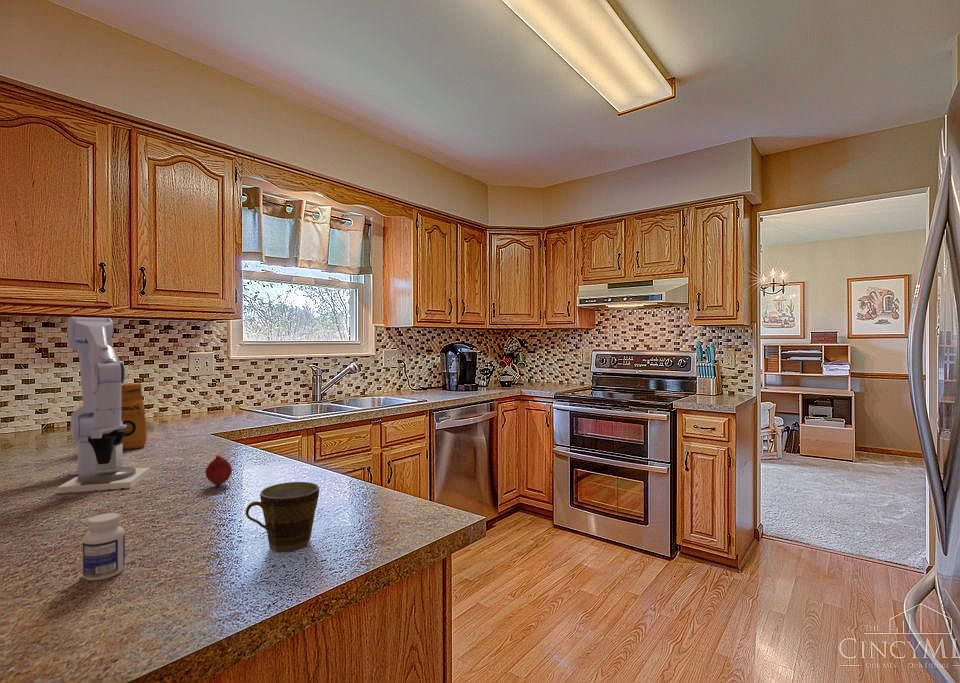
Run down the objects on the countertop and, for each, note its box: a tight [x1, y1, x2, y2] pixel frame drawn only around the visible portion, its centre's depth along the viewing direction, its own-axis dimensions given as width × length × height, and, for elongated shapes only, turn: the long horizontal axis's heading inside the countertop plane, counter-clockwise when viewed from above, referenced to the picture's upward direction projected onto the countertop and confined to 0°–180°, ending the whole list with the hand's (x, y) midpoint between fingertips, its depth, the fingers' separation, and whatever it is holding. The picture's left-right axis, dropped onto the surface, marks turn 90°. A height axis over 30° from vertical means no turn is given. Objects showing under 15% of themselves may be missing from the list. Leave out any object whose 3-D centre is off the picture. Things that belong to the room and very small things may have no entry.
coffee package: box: [119, 383, 148, 450], centre depth 168 cm, size 10×12×22 cm
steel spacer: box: [95, 443, 124, 471], centre depth 128 cm, size 4×4×6 cm
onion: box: [205, 453, 233, 487], centre depth 125 cm, size 6×6×8 cm
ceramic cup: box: [245, 481, 320, 553], centre depth 87 cm, size 13×10×10 cm
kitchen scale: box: [57, 466, 151, 494], centre depth 127 cm, size 15×15×2 cm
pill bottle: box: [82, 512, 126, 582], centre depth 78 cm, size 5×5×9 cm
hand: (107, 461), depth 127 cm, fingers closed on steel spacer, 4 cm apart
